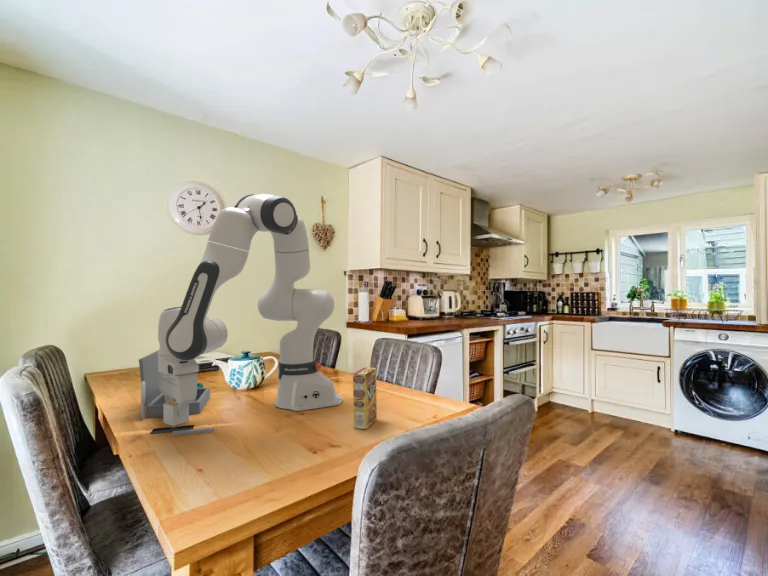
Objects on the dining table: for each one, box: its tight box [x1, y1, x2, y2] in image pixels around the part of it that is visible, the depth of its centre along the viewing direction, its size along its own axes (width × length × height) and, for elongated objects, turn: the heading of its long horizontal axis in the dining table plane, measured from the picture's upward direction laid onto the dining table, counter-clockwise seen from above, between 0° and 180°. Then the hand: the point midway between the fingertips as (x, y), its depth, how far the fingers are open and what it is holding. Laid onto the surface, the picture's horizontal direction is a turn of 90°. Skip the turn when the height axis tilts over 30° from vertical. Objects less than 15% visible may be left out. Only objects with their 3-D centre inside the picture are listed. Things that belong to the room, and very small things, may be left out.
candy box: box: [352, 367, 378, 430], centre depth 106 cm, size 9×4×15 cm, turn 162°
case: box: [140, 381, 211, 421], centre depth 118 cm, size 15×20×12 cm
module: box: [162, 401, 190, 428], centre depth 105 cm, size 5×4×6 cm
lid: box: [138, 349, 162, 408], centre depth 116 cm, size 14×18×1 cm
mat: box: [149, 424, 195, 435], centre depth 105 cm, size 10×10×1 cm
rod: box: [171, 426, 215, 437], centre depth 99 cm, size 10×1×1 cm, turn 106°
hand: (176, 412), depth 105 cm, fingers open, 8 cm apart
